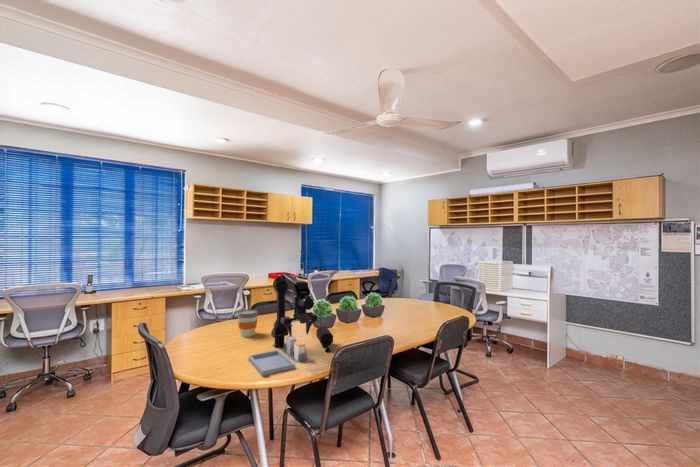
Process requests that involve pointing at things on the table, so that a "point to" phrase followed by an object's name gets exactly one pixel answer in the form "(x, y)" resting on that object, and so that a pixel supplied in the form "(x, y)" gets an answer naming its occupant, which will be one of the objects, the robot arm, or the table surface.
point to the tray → (270, 362)
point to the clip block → (291, 355)
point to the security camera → (324, 337)
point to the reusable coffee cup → (247, 322)
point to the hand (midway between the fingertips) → (299, 335)
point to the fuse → (290, 343)
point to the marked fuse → (298, 349)
